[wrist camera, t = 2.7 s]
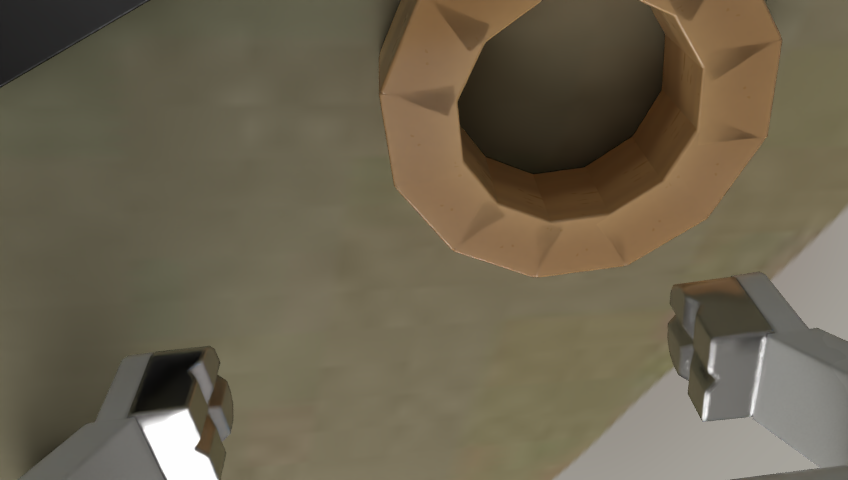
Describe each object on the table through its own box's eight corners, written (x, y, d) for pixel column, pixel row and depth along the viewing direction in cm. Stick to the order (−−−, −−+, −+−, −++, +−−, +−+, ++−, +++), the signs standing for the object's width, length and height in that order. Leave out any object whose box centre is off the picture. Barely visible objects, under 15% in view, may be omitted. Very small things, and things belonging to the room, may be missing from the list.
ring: (679, -204, 18) (727, -199, 16) (769, 141, 23) (816, 186, 21) (309, 0, 20) (299, 33, 18) (470, 272, 26) (480, 327, 23)
